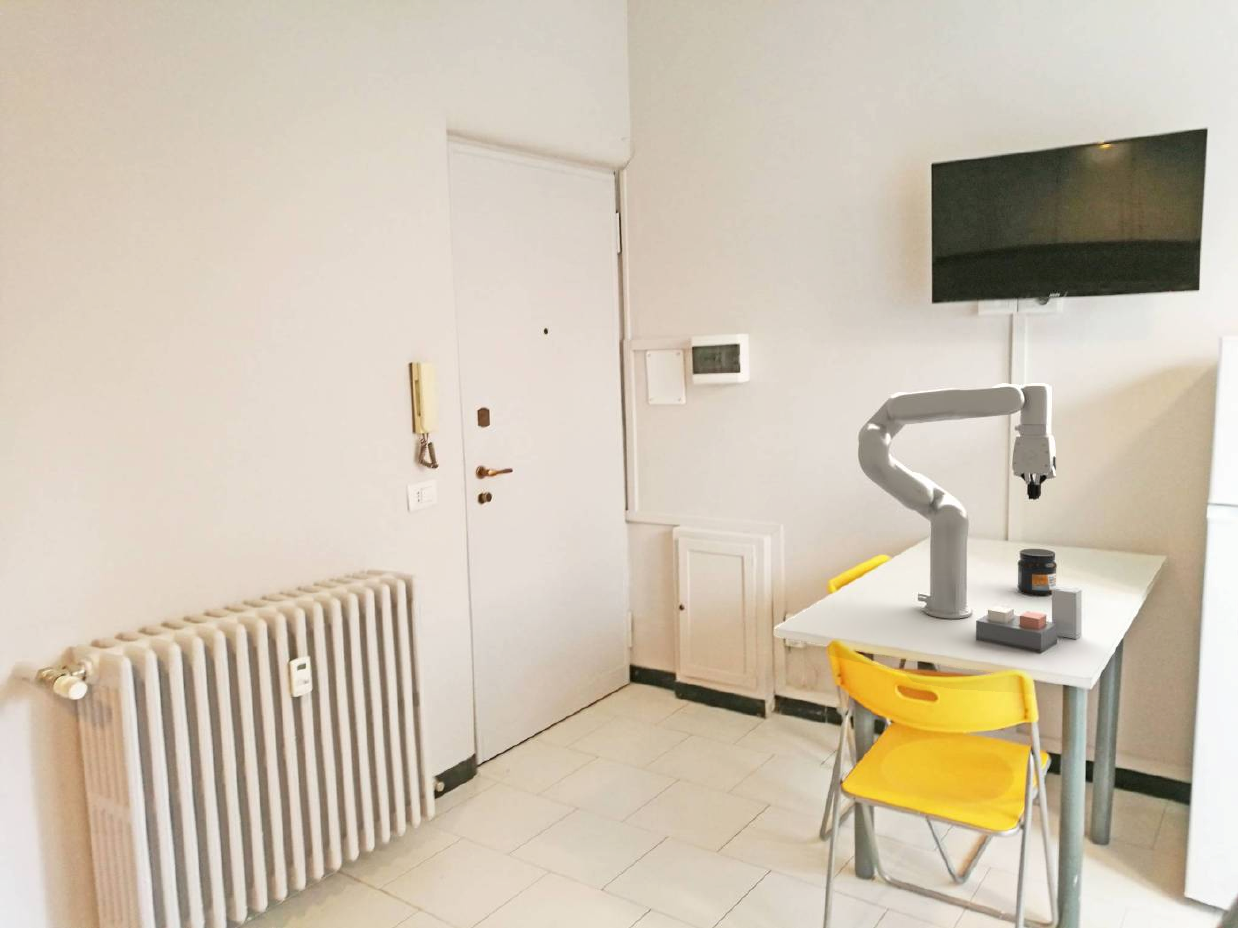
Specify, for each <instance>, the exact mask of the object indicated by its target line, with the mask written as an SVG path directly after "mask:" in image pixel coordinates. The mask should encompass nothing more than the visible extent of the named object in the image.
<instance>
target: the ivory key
mask: <svg viewBox="0 0 1238 928" xmlns="http://www.w3.org/2000/svg"><path fill="white" fill-rule="evenodd" d="M1014 613H1015V609H1014V608H1012V607H1007V606H1006V607H1005V606H1000V605H995V606H992V607H991V608H988V609H987V615H988V620H991V621H996V622H1002V623H1008V622H1010V621H1012V620H1014Z"/></svg>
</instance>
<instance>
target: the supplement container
mask: <svg viewBox="0 0 1238 928" xmlns="http://www.w3.org/2000/svg"><path fill="white" fill-rule="evenodd" d="M1019 558H1020V559H1019V560H1018V561H1017V584H1016V585H1017V590H1018V591H1019V592H1020V593H1022V594H1026V595H1029V596H1038V597H1039V596H1043V597H1044V596H1045V597H1046V596H1052V590H1053V589H1054V588H1055V587H1057V567H1058V564H1057V562H1056V561H1055V560H1056V553H1055V552H1054V551H1053V550H1050V549H1049V550H1048V549H1045V548H1043V549H1042V548H1025V549H1021V550H1020V551H1019Z"/></svg>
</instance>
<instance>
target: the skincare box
mask: <svg viewBox="0 0 1238 928" xmlns="http://www.w3.org/2000/svg"><path fill="white" fill-rule="evenodd" d="M1082 602H1083V600H1082V589H1078V588H1073V587H1065V586H1059V585H1056V587H1055V588H1054V589H1053V590H1052V594H1051V622H1053V623H1058V633H1057V637H1060V638H1067V639H1074V640H1078V639H1079V638H1080V637H1081V636H1082V635H1083V633H1082V628H1083V627H1082V620H1083V619H1082V617H1083V616H1082V612H1083V611H1082Z"/></svg>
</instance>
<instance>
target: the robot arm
mask: <svg viewBox="0 0 1238 928" xmlns="http://www.w3.org/2000/svg"><path fill="white" fill-rule="evenodd" d="M1052 390H1053V389H1052V387H1051V385H1049V384H1046V383H1027V384H1012V383H1011V384H1010V383H1000V384H997V385H994V386H993V387H988V388H977V389H976V388H974V389H963V388H962V389H961V388H942V389H940V388H939V389H934V390H925V391H924V390H923V391H915V392H903V391H901V392H899V391H898V392H896V393H894V394H892V395H890V397H889V398H888V399H887V400H886V401H885V402H884V404H883V405H881V406H880V408H879V409H878V410H877V411H876V412H875V413H874V414H873V415H872V416H871V417H870V418H869V420H867V422H866V423H864V424H863V426H862V427H861V429H860V430H859V432H858V436H857V438H858V446H857V447H858V449H857V450H858V451H857V457H858V463H859V466H860V468H861V470H862V472H863V474H865V476H866V477H867V478H868V479H869V480H870V481H872V482H873V483H874V484H876V485H877V486H878V487H880V488H881V489H882V490H883V491H885V492H886V493H887V494H889V495H890V496H891V497H893V498H894V499H895V500H897V501H898V502H899V503H900V504H901V505H902V506H904V508H907V509H908V510H911V511H914V512H915V513H916V512H917V514H919V515H920V516H922V517H923V518H924V519H926V520H927V521H928V522H930V540H929V541H930V543H929V544H930V545H929V560H930V561H929V565H930V566H929V591H930V592H929V593H925V592H919V593H918V594H917V601H918V602H925V604H926V605H924V607H923V611H924V613H925V614H927V615H928V614H929V616H931V617H935V618H941V619H951V620H953V619H954V620H955V619H957V620H958V619H965V618H968V617H970V616H972V615H973V608H971V606H968V605H967V597H968V596H967V592H968V591H967V583H968V582H967V581H968V578H967V576H968V566H967V565H968V564H967V563H968V558H967V557H968V535H969V522H970V521H969V516H968V512H967V510H966V508H965V507H964V506H963V505H962V504H961V502H960V500H958V499H957V498H956V497H954V495H952V494H950V493H949V492H947V491H946V490H945V489H943V488H942V487H940V486H938V484H936V483H935V482H934V481H932V480H931V479H929V478H928V477H926V476H925V475H924V474H921V473H919V472H913V471H911V470H910V469H908V468H907V467H906V466H904V465H903V464H902V463H901V462H899V461H898V460H896V459H895V458H894V457H893V456H892V455H891V453H890V447H891V444H892V443H891V441H892V440H893V439H894V437H896V436H897V434H899V432H900V431H901V430H902V429H903V428H904V427H905V425H913V424H914V425H915V424H923V423H932V422H944V421H953V420H954V421H956V420H957V421H958V420H965V419H978V418H979V419H980V418H990V417H999V416H1006V415H1007V416H1008V415H1014V414H1016V413H1017V412H1019V424H1018V425H1015V426H1014V431H1016V432H1018V434H1017V435H1016V437H1015V440H1014V444H1013V445H1014V446H1013V452H1012V464H1011V465H1012V466H1011V469H1012V471H1013V476H1016V477H1019V478H1022V480H1023V481H1024V482H1025V484H1026V488H1027V489H1026V492H1027V493H1026V495H1027V496H1028V500H1033V501H1036V500H1038V499H1040V497H1041V495H1042V484H1043V483H1044V482H1045V481H1046V480H1050V479H1054V478H1056V477H1057V474H1056V470H1057V452H1056V443H1055V439H1054V435H1052V399H1053V397H1052V394H1053V393H1052V392H1053V391H1052ZM1034 475H1035V477H1034Z"/></svg>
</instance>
